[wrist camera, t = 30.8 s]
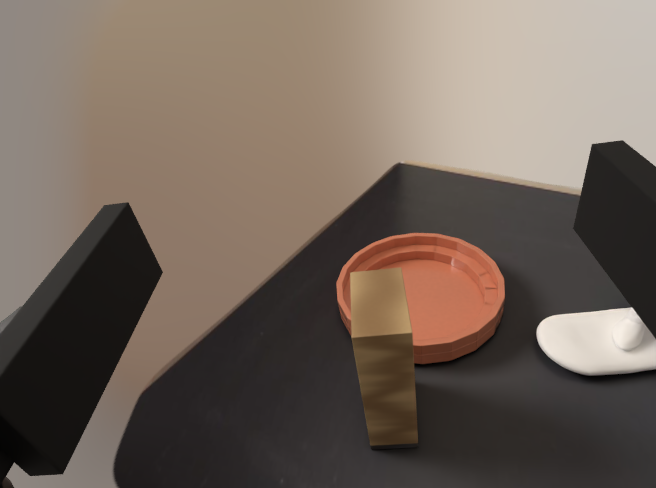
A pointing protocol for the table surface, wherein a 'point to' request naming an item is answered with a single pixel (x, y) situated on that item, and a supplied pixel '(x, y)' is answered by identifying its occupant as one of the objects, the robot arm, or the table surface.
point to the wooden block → (384, 357)
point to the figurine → (599, 342)
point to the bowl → (436, 291)
